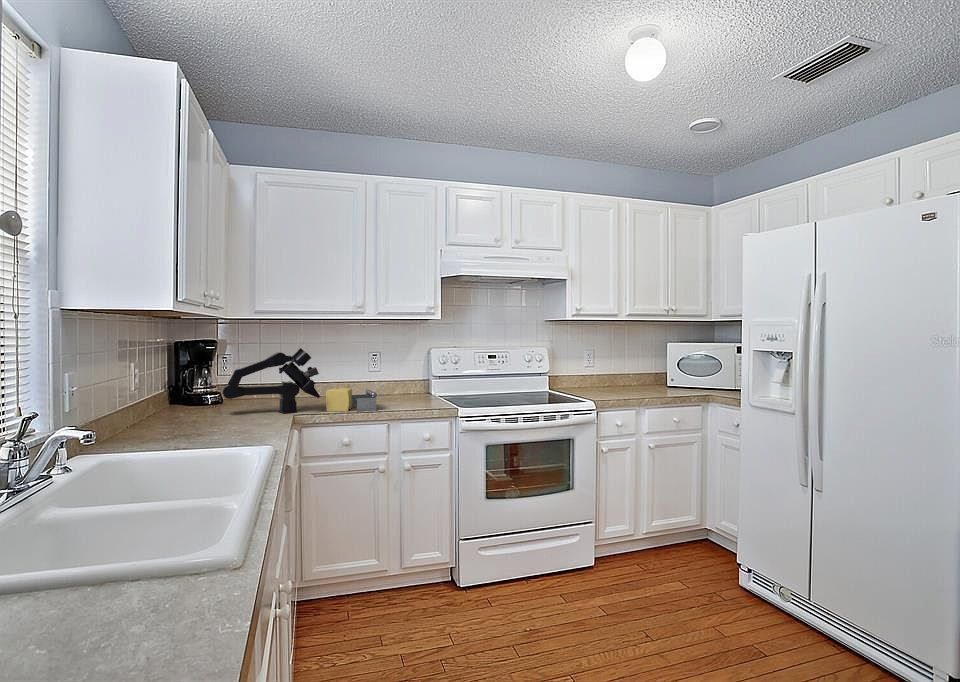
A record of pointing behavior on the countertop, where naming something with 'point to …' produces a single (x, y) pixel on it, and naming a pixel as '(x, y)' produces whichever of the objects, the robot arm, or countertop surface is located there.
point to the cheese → (339, 399)
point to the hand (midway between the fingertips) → (319, 397)
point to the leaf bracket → (365, 401)
